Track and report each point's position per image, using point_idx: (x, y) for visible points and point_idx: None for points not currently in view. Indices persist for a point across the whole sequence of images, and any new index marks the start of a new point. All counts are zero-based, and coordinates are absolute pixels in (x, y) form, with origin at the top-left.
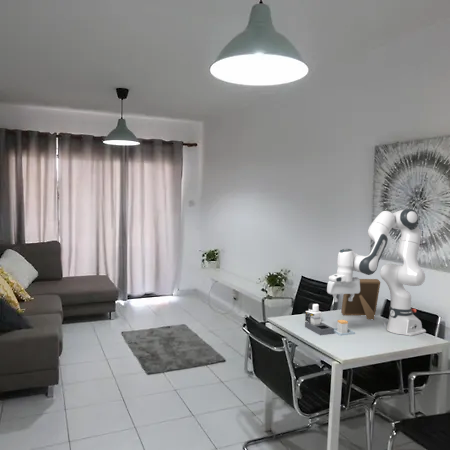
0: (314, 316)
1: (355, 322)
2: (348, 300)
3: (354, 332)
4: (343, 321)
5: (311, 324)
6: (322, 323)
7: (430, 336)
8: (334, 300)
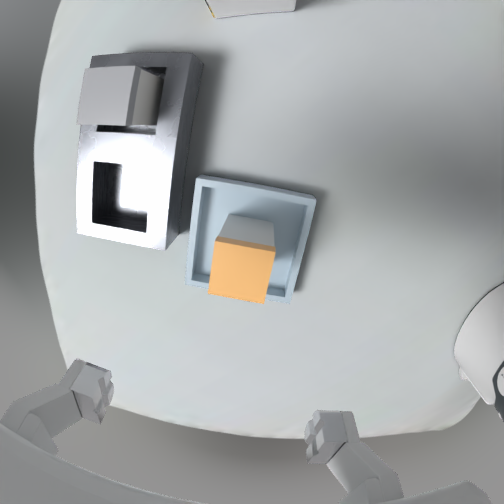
0: (97, 92)
1: (484, 133)
2: (317, 413)
3: (284, 302)
4: (234, 286)
5: None
6: (169, 124)
7: None
8: (71, 369)
